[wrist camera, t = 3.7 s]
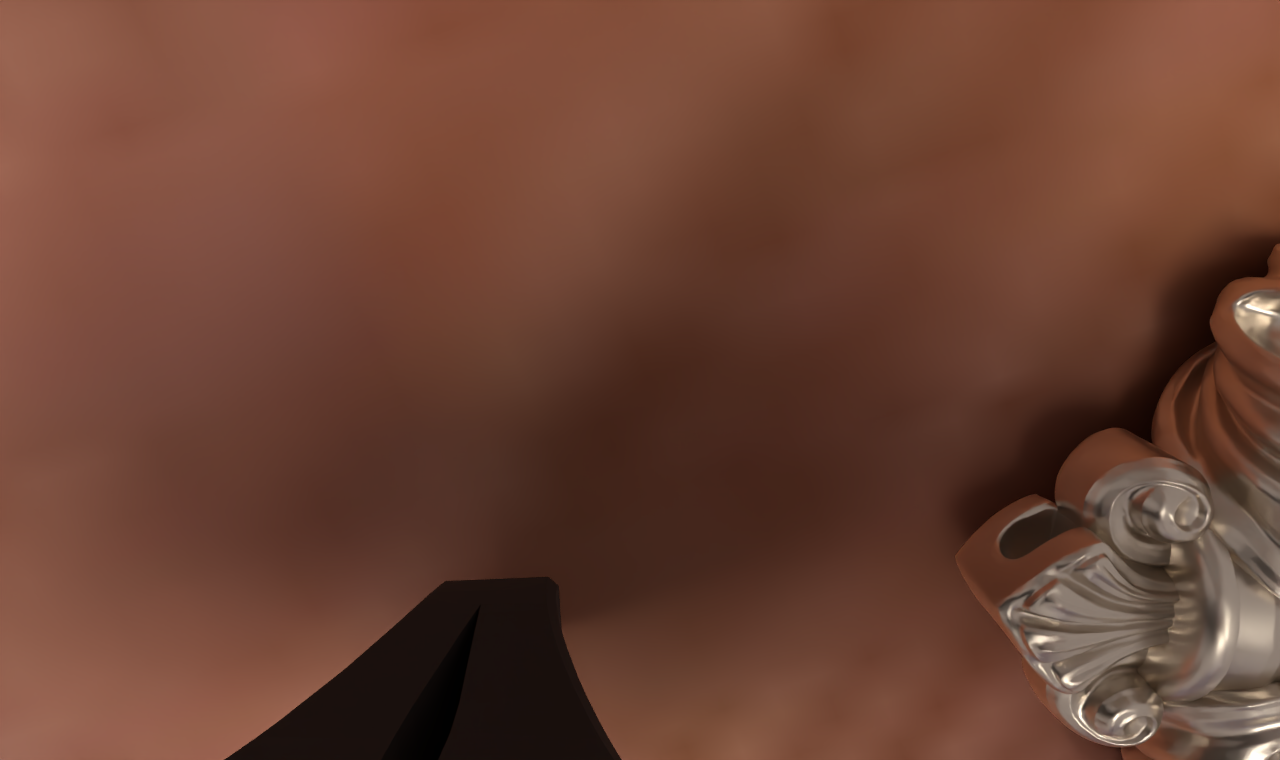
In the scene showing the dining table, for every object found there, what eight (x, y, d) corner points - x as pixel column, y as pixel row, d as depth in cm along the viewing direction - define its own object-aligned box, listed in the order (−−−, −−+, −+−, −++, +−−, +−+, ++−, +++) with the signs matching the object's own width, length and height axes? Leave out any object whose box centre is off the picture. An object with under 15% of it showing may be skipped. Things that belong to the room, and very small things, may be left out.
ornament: (966, 220, 10) (1147, 257, 7) (1501, 245, 11) (1944, 295, 7) (884, 766, 12) (989, 1010, 9) (1331, 775, 13) (1606, 1017, 9)
